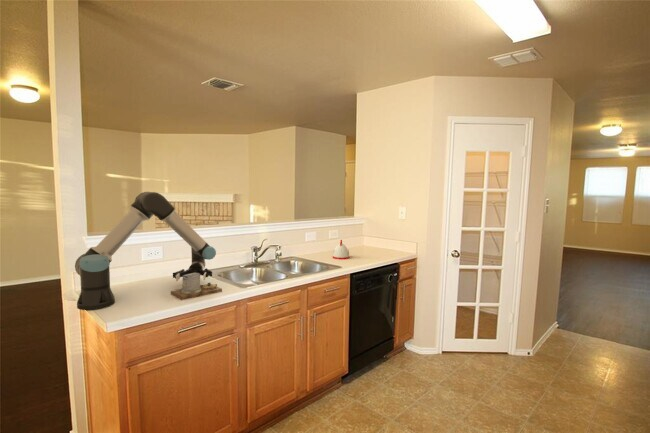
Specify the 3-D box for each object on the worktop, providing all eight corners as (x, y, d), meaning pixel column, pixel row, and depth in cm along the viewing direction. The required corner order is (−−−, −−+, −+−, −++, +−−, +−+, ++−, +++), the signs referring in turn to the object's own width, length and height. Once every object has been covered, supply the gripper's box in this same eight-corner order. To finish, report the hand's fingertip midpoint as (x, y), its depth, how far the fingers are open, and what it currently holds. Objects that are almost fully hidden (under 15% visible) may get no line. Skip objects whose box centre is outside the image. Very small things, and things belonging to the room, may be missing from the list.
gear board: (182, 300, 175) (181, 292, 175) (171, 293, 185) (170, 286, 185) (222, 291, 191) (222, 284, 191) (210, 286, 201) (210, 279, 201)
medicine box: (195, 287, 190) (195, 272, 190) (200, 289, 188) (200, 273, 187) (182, 291, 184) (182, 275, 183) (187, 292, 181) (187, 276, 181)
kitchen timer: (349, 256, 295) (350, 239, 294) (348, 259, 281) (349, 241, 280) (333, 256, 297) (333, 238, 296) (331, 259, 283) (331, 240, 282)
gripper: (218, 274, 206) (215, 284, 186) (173, 276, 201) (165, 286, 180) (218, 261, 206) (215, 270, 185) (173, 263, 200) (164, 272, 179)
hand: (190, 278), depth 182 cm, fingers open, 13 cm apart
